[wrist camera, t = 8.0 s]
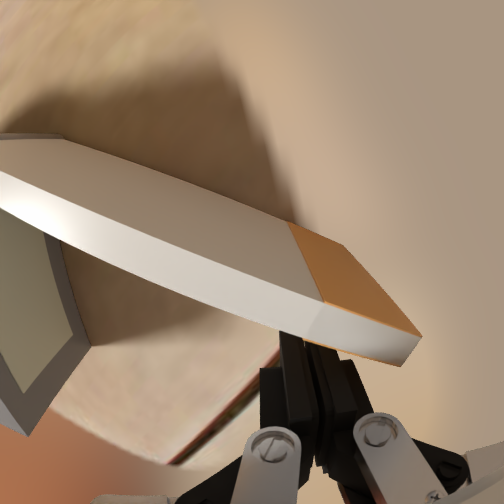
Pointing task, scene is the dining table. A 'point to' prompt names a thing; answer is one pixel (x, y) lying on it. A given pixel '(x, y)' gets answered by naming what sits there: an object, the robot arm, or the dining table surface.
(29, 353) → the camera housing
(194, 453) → the dining table surface
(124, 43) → the dining table surface
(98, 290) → the dining table surface
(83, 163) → the side door
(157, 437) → the dining table surface
